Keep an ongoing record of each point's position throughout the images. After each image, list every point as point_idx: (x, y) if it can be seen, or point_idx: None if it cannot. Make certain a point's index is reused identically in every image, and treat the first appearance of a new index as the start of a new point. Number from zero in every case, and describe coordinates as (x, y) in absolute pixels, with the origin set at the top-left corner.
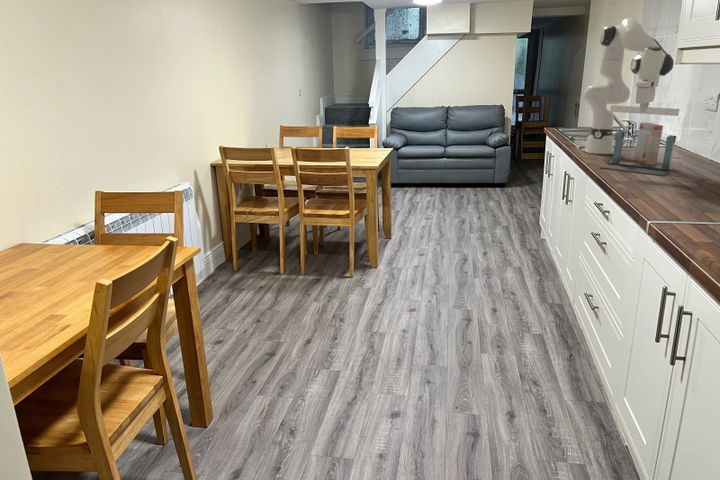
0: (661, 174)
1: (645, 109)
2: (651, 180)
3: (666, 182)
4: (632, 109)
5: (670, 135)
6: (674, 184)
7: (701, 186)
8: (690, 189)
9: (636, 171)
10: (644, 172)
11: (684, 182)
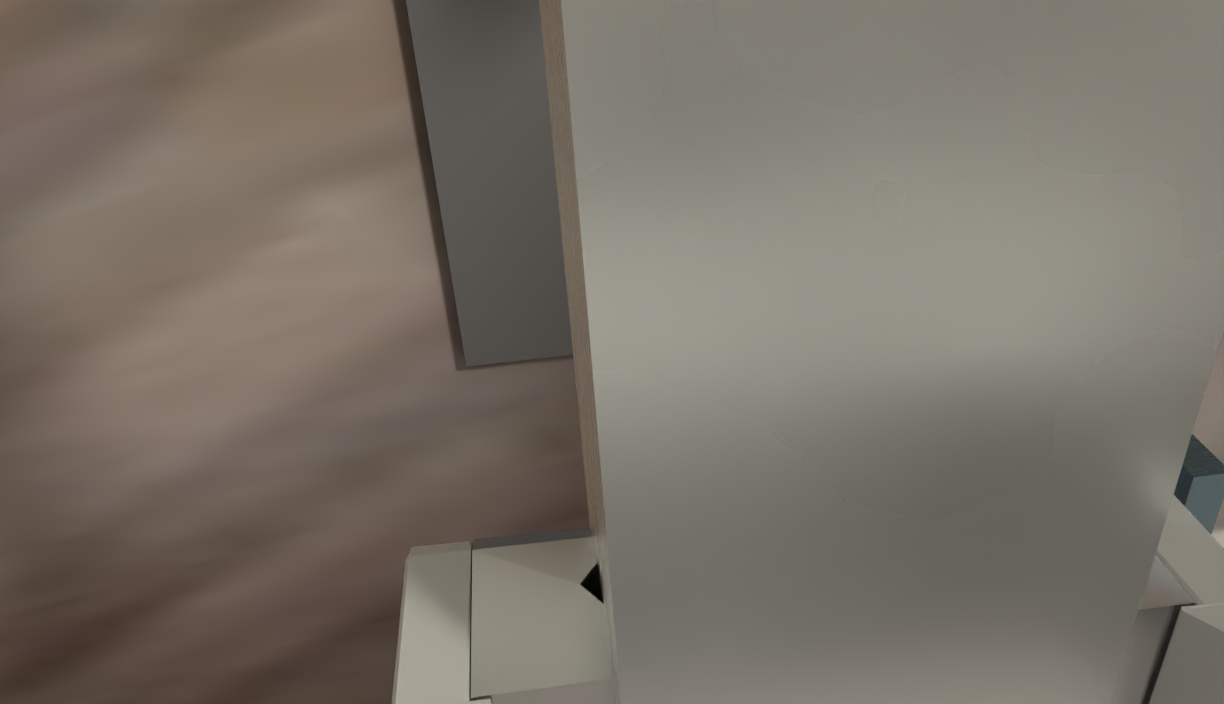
0: (472, 336)
1: None
2: (91, 347)
3: (138, 475)
4: (554, 70)
5: (1209, 488)
6: (113, 547)
7: (250, 691)
8: (26, 681)
9: (424, 51)
10: (438, 155)
11: (303, 569)
